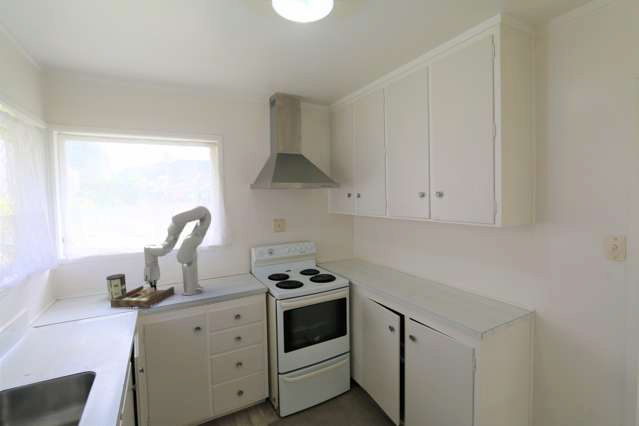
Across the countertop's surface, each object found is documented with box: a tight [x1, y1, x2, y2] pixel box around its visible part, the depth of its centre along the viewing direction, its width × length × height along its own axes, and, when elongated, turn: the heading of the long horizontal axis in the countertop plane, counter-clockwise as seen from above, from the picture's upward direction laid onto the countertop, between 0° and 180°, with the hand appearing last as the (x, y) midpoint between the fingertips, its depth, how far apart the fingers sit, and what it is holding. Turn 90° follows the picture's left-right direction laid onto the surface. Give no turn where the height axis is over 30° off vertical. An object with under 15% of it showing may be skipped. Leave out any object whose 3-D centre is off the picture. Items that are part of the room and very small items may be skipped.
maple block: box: [142, 286, 155, 296], centre depth 191 cm, size 5×5×4 cm
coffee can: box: [105, 273, 128, 300], centre depth 194 cm, size 10×10×14 cm
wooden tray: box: [109, 285, 175, 309], centre depth 187 cm, size 24×25×4 cm
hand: (153, 290), depth 196 cm, fingers closed
